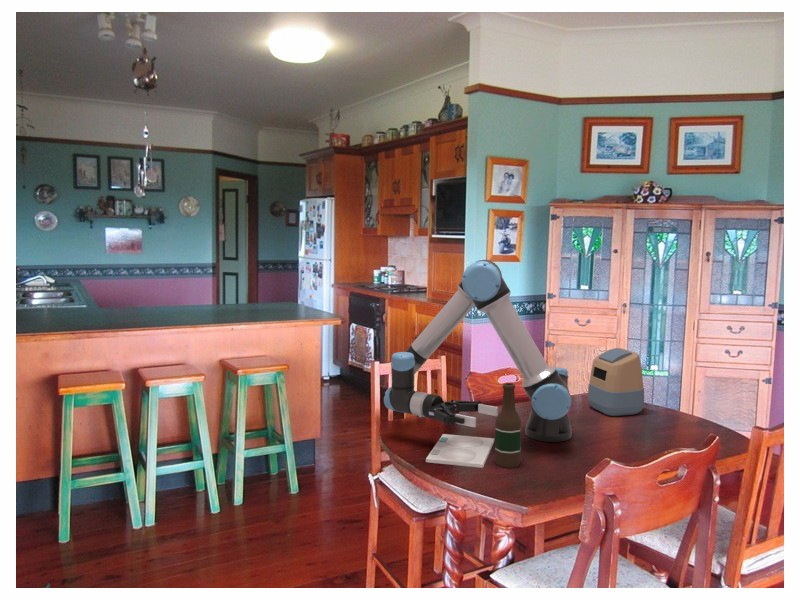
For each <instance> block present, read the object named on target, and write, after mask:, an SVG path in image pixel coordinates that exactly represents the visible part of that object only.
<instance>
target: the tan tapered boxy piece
mask: <svg viewBox="0 0 800 600" xmlns="http://www.w3.org/2000/svg"><path fill="white" fill-rule="evenodd" d="M640 358H641V357H640V354H639V353H637V352H635V351H631V350H628V349H625V348H621V347H614V348H610V349H607V350H606V351H604V352H603V353H601V354H598V355H597V356H595V357H594V359H593V362H592V365H591V370H590V375H589V376H590V377H589V383H588V387H587V388H588V390H587V401H588V404H589V405H590V406H591V408H593V409H594V410H597V411H598V412H601V413H602V414H604V415H605V416H609V417H622V416H631V415H632V416H633V415H637V414H639V413H641V411H642V410H643V408H644V406H645V388H644V380H643V368H642V363H641V359H640Z"/></svg>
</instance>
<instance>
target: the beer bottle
mask: <svg viewBox="0 0 800 600" xmlns="http://www.w3.org/2000/svg"><path fill="white" fill-rule="evenodd" d="M515 388H516V384H514V383H512V382H505V383H503V385H502V389H503V391H502V404H501V410H500V412H498V416H496V417H497V418H496V420H495V427H494V429H495V430H494V463H495V465H497V466H499V467H501V468H506V469H507V468H508V469H513V468H518V467H519V466H520V463H521V459H522V421H521V418H520V415H519V414H518V411H517V410H516V400H515V398H516V396H515V395H516V394H515Z"/></svg>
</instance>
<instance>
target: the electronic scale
mask: <svg viewBox="0 0 800 600" xmlns="http://www.w3.org/2000/svg"><path fill="white" fill-rule="evenodd" d="M494 444H495V437H494V438H491V437H482V436H471V435H459V434H448V433H442V435H441V437H440V438H439V439H438V441H437V442H436V443H435V445H434V446H433V448H432V450H431V451H430V452H429V453H428V455H427V456H426V458H425V462H426V463H432V464H441V465H451V466H459V467H460V466H461V467H468V468H469V467H470V468H479V469H480V468H481V469H483V468H484V467H485V465H486V462H487V459H488V457H489V455H490V453H491V450H492V447H493V445H494Z"/></svg>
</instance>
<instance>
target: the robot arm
mask: <svg viewBox="0 0 800 600" xmlns="http://www.w3.org/2000/svg"><path fill="white" fill-rule="evenodd" d="M457 287H458V288H457V289H458V290H457V291H456V292H454V294H453V296H452V297H451V298H450V299H449V300H448V301H447V303H446V304H445V305H444V306H443V307H442V309H440V311H439V312H438V313H436V315H435V316H434V318H433V319H432V320H431V321H430V322H429V323H428V325H427V326H426V327H425V328H424V329H423V331H422V332H421V333H420V334H418V336H417V337H416V338H415V340H414V341H413V342H412V343H411V344H410V346H409V347H407V349H406V350H405V351H398V352H394V353H393V354H392V355H391V362H390V366H391V370H390V372H391V375H390V376H391V387H388V388H387V389H386V391H385V392H384V397H383V403H384V406H385V408H386V409H387V410H391V411H394V412H396V413H397V412H398V413H403V414H407V415H413V416H418V418H422V417H423V418H424V417H425V418H427V419H432V420H436V421H438V422H440V423H442V424H444V425H447V426H449V425H450V427H454V426H455V425H456V424H457V425H460V426H467V427H469V428H470V427H471V428H476V427H477V417H474V416H468V415H464V414H459V413H468V412H469V413H472V412H474V413H475V412H478V414H483V415H489V416H493V417H498V415H499V407H498V406H495V405H488V404H483V403H482V401H481V400H477V401H475V400H456V399H450V400H449V401H448V400H447V401H444V399H443V397H442V396H441V395H439V394H434V393H428V392H422V391H417V390H415V375H416V374H417V372H418V371H419V370H420V369H421V368H422V367H423V366H424V364H425V363H426V362H427V360H428V359H429V358H430V357H431V356H432V355H433V354H434V352H435V351H436V350H437V349H439V346H441V344H442V343H443V342H444V341H445V340H446V339H447V338H448V336H450V335H451V333H452V332H453V331H454V330H455V328H456V327H458V325H459V324H460V323H461V322H462V321H463V320H464V318H465V317H466V316H467V315H468V313H470V311H472V309H473V308H474V307H475V308H476V309H477V311H478V312H482V313H484V314H485V315H486V317H487V318H488V320H489V322H490V324H491V325H492V327H493V329H494V331H495V332H496V334H497V336H498V337H499V339H500V341H501V342H502V344H503V345H504V348H505V349H506V351H507V352H508V355H509V356H510V358H511V360H512V361H513V363H514V364H515V366H516V368H517V370H518V371H519V373H520V375H521V377H522V378H523V380H522V384H521V385H522V388H523V389H524V391H525V392H526V394H527V396H528V398H529V400H530V401H531V402H530V403H531V406H530V413H529V416H528V419H527V422H526V425H525V430H524V432H525V435H526V437H528V438H530V439H532V440H536V441H539V442H547V443H548V442H549V443H550V442H551V443H559V442H566V441H568V440H570V439H571V438H572V437H573V436H572V434H573V432H572V431H573V429H572V426H571V423H570V420H569V416H568V413H569V410H570V408H571V406H572V396H571V392H570V390H569V387H568V386H569V385H568V383H569V381H568V380H569V372H568V369H566V368H565V367H557V366H556V367H555V366H552V365H549V364H548V363H547V362H546V360H545V358H544V356H543V354H542V353H541V351H540V349H539V347H538V346H537V344H536V342H535V340H534V339H533V337H532V336H531V334H530V332H529V330H528V328H527V327H526V325H525V324H524V322H523V320H522V319H521V317H520V315H519V313H518V312H517V310H516V308H515V307H514V305H513V303H512V301H511V299H510V297H511V290H510V287H509V286H508V285H507V283H506V281H505V280H504V278H503V275H502V271H501V269H500V267H499V266H498V264H496V263H495V262H493V261H491V260H488V259H480V260H477V261H475V262H473V263H471V264H469V266H467V267H466V268H465V270H464V271H463V273H462V277H461V281H460V283H458V286H457Z"/></svg>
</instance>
